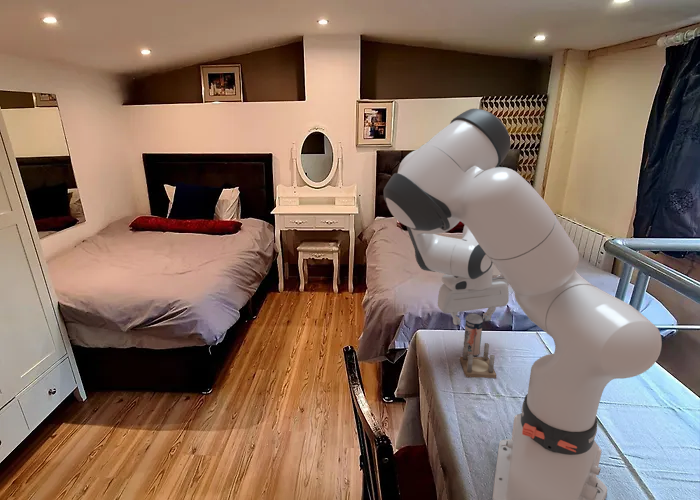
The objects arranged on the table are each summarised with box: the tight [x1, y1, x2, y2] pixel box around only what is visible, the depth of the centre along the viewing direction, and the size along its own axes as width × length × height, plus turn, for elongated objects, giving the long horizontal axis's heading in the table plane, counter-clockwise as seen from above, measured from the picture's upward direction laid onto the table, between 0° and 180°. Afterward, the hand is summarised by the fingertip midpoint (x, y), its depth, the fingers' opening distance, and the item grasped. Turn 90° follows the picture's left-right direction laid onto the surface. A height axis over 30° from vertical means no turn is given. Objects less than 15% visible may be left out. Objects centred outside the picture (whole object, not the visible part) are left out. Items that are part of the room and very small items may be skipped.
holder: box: [459, 342, 498, 379], centre depth 102 cm, size 8×8×6 cm
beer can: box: [462, 312, 484, 357], centre depth 109 cm, size 5×5×12 cm
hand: (471, 321), depth 107 cm, fingers open, 8 cm apart
